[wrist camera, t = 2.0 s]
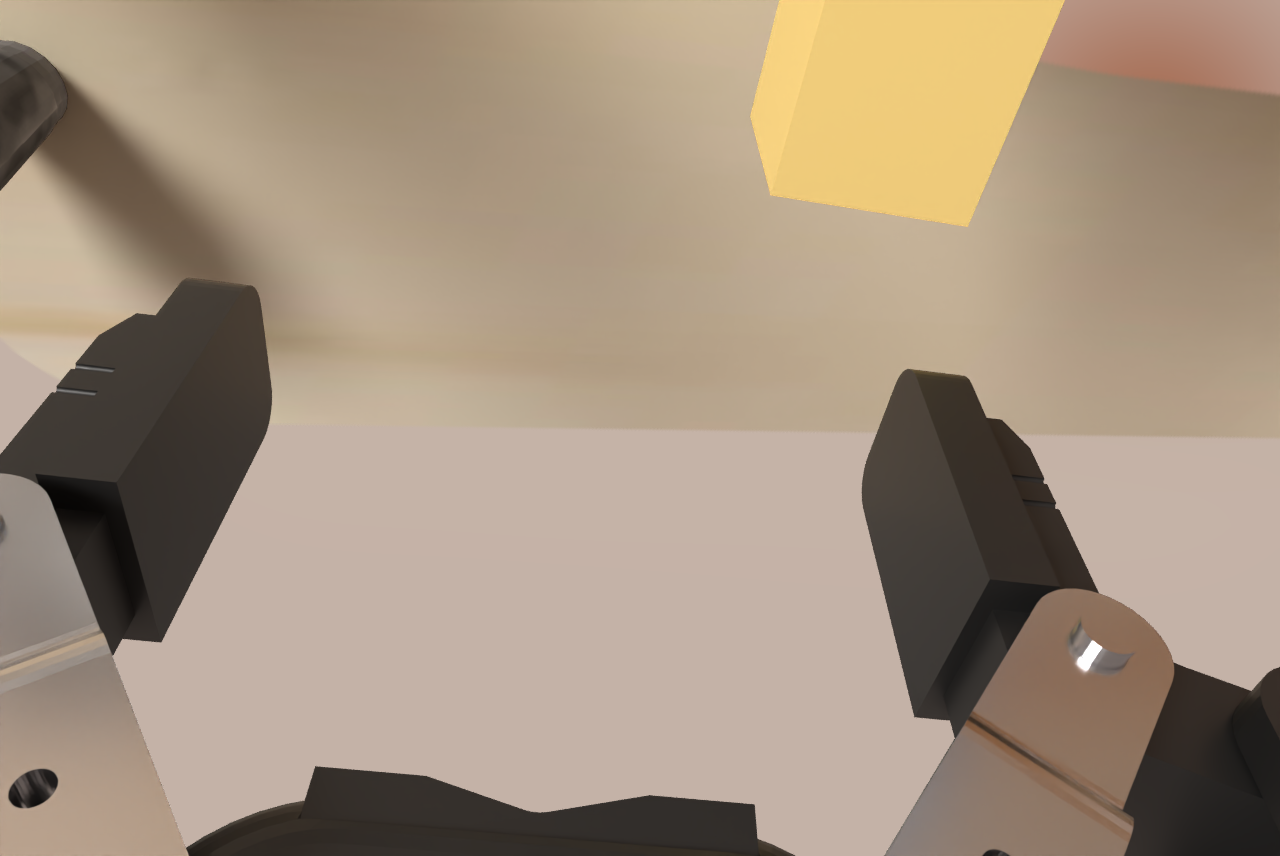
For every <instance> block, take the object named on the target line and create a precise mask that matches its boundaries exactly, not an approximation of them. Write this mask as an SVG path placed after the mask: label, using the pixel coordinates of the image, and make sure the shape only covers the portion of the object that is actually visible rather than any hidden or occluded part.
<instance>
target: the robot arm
mask: <svg viewBox="0 0 1280 856" xmlns="http://www.w3.org/2000/svg"><path fill="white" fill-rule="evenodd" d="M271 406H272V388H271V380H270V372H269V364H268V356H267V349H266V341H265V333H264V325H263V318H262V310H261V303H260V298H259V295H258V293H257V291H256V289H255V288H254V287H253V286H250V285H242V284H234V283H226V282H218V281H210V280H202V279H194V278H187V279H185V280H183V281H182V282H181V283H180V284H179V286H178V287H177V288H176V290H175V291H174V292H173V294H172V295H171V296H170V297H169V299H168V300H167V301H166V303H165V304H164V305H163V307H162V308H161V309H160V311H159V312H158V313H157V315H156V316H155V315H147V314H138V313H137V314H135V315H133V316H131V317H130V318H128V319H126V320H124V321H123V322H121V323H119V324H118V325H116V326H114V327H112V328H111V329H109V330H107V331H105V332H104V333H102V334H100V335H99V336H98V337H97V338H96V339H95V340H94V342H93V343H92V344H91V345H90V347H89V348H88V349H87V350H86V351H85V353H84V354H83V355H82V356H81V357H80V359H79V360H78V361H77V362H76V368H75V369H71V370H70V371H69V372H68V373H67V374H66V376H65V377H64V378H63V379H62V380H61V382H60V383H59V384H58V385H57V391H56V393H53V392H52V393H51V394H50V395H49V396H48V397H47V399H46V400H45V401H44V402H43V403H42V405H41V406H40V407H39V408H38V409H37V411H36V412H35V413H34V414H33V416H32V417H31V418H30V419H29V420H28V422H27V423H26V424H25V425H24V426H23V428H22V429H21V430H20V431H19V432H18V434H17V435H16V436H15V437H14V439H13V440H12V441H11V442H10V443H9V445H8V446H7V447H6V449H5V450H4V451H3V452H2V453H1V454H0V856H795V855H793V854H791V853H789V852H786V851H784V850H783V849H781V848H778V847H776V846H774V845H772V844H769V843H767V842H764V841H761V840H759V839H757V829H756V817H755V805H754V804H743V803H731V802H720V801H708V800H696V799H685V798H673V797H662V796H651V795H649V796H643V797H637V798H631V799H624V800H618V801H612V802H606V803H600V804H594V805H588V806H582V807H576V808H570V809H564V810H558V811H551V812H544V813H543V812H542V813H538V812H530V811H526V810H523V809H519V808H517V807H514V806H511V805H508V804H505V803H502V802H500V801H497V800H493V799H491V798H488V797H485V796H482V795H479V794H477V793H474V792H471V791H468V790H465V789H462V788H459V787H456V786H453V785H450V784H448V783H445V782H442V781H439V780H436V779H433V778H430V777H427V776H420V775H409V774H397V773H386V772H373V771H362V770H351V769H339V768H328V767H316V766H315V769H314V773H313V776H312V779H311V782H310V785H309V789H308V792H307V795H306V798H305V801H300V802H295V803H289V804H285V805H281V806H278V807H274V808H270V809H267V810H264V811H260V812H257V813H255V814H252V815H249V816H247V817H244V818H242V819H239V820H237V821H234V822H232V823H229V824H228V825H226V826H224V827H222V828H220V829H218V830H216V831H214V832H212V833H210V834H208V835H206V836H204V837H203V838H201V839H199V840H198V841H196V842H195V843H193V844H192V845H190V846H188V847H187V848H186V847H185V844H184V842H183V839H182V836H181V834H180V831H179V829H178V826H177V823H176V821H175V818H174V816H173V813H172V810H171V808H170V805H169V802H168V800H167V797H166V795H165V792H164V789H163V787H162V784H161V782H160V779H159V776H158V774H157V771H156V769H155V766H154V764H153V761H152V758H151V755H150V753H149V750H148V748H147V745H146V742H145V740H144V737H143V735H142V732H141V729H140V727H139V724H138V722H137V719H136V717H135V714H134V711H133V709H132V706H131V703H130V701H129V698H128V695H127V693H126V690H125V688H124V685H123V683H122V680H121V678H120V675H119V672H118V670H117V668H116V664H115V662H114V659H113V655H114V653H115V651H116V649H117V647H118V645H119V644H120V642H121V640H122V639H130V640H131V639H132V640H141V641H152V642H162V640H163V638H164V636H165V634H166V632H167V630H168V628H169V626H170V624H171V622H172V620H173V618H174V616H175V614H176V612H177V610H178V608H179V606H180V604H181V602H182V600H183V598H184V596H185V594H186V592H187V590H188V588H189V586H190V584H191V582H192V580H193V578H194V576H195V574H196V572H197V570H198V568H199V566H200V564H201V562H202V560H203V558H204V556H205V554H206V552H207V550H208V548H209V546H210V544H211V542H212V540H213V539H214V537H215V535H216V533H217V531H218V529H219V527H220V525H221V523H222V521H223V519H224V517H225V515H226V513H227V511H228V509H229V507H230V505H231V503H232V501H233V499H234V497H235V495H236V493H237V491H238V489H239V487H240V485H241V483H242V481H243V479H244V477H245V475H246V473H247V471H248V469H249V467H250V465H251V463H252V461H253V459H254V457H255V455H256V453H257V451H258V449H259V447H260V445H261V443H262V441H263V439H264V437H265V434H266V432H267V428H268V425H269V420H270V414H271ZM1043 481H1044V477H1043V475H1042V472H1041V471H1040V468H1039V466H1038V464H1037V462H1036V460H1035V458H1034V456H1033V454H1032V452H1031V449H1030V448H1029V447H1028V446H1027V445H1026V444H1025V443H1024V442H1023V441H1022V440H1021V439H1020V438H1019V437H1018V436H1017V435H1016V434H1015V433H1014V432H1013V431H1012V430H1011V429H1010V428H1009V427H1008V426H1007V425H1006V424H1005V423H1004V422H1003V421H1002V420H1000V419H992V418H986V416H985V413H984V411H983V409H982V407H981V404H980V402H979V400H978V397H977V395H976V393H975V391H974V388H973V386H972V384H971V382H970V380H969V379H968V378H967V377H965V376H961V375H953V374H945V373H937V372H929V371H921V370H913V369H907V370H905V371H904V372H903V373H902V374H901V375H900V377H899V378H898V380H897V382H896V385H895V387H894V390H893V393H892V395H891V398H890V400H889V403H888V406H887V408H886V411H885V413H884V416H883V419H882V421H881V424H880V427H879V429H878V432H877V434H876V437H875V440H874V442H873V445H872V447H871V450H870V453H869V455H868V458H867V461H866V464H865V468H864V474H863V481H862V503H863V509H864V513H865V517H866V521H867V525H868V529H869V534H870V537H871V542H872V546H873V550H874V554H875V558H876V562H877V566H878V570H879V574H880V578H881V583H882V587H883V591H884V595H885V599H886V603H887V607H888V611H889V615H890V619H891V623H892V627H893V631H894V636H895V640H896V643H897V648H898V652H899V656H900V660H901V664H902V668H903V672H904V676H905V680H906V684H907V689H908V693H909V696H910V701H911V705H912V709H913V713H914V717H919V718H929V719H939V720H950V722H951V725H952V730H953V733H954V737H955V739H954V741H953V743H952V744H951V746H950V747H949V749H948V751H947V752H946V754H945V756H944V757H943V759H942V761H941V763H940V764H939V766H938V767H937V769H936V771H935V772H934V774H933V776H932V777H931V779H930V781H929V782H928V784H927V786H926V788H925V789H924V791H923V792H922V794H921V796H920V797H919V799H918V801H917V802H916V804H915V806H914V807H913V809H912V811H911V812H910V814H909V816H908V817H907V819H906V821H905V822H904V824H903V826H902V827H901V829H900V831H899V832H898V834H897V835H896V837H895V839H894V840H893V842H892V844H891V846H890V847H889V849H888V850H887V852H886V854H885V855H884V856H1280V667H1279V668H1276V669H1273V670H1272V671H1270V672H1269V673H1268V674H1267V675H1266V676H1265V677H1264V678H1263V679H1262V680H1261V681H1260V682H1259V683H1258V684H1257V685H1256V687H1255V688H1254V689H1253V690H1252V691H1249V690H1247V689H1244V688H1241V687H1239V686H1236V685H1233V684H1230V683H1227V682H1225V681H1222V680H1219V679H1216V678H1214V677H1211V676H1208V675H1205V674H1202V673H1200V672H1197V671H1194V670H1191V669H1188V668H1186V667H1183V666H1181V665H1178V664H1176V663H1173V660H1172V656H1171V653H1170V651H1169V649H1168V647H1167V645H1166V644H1165V642H1164V641H1163V639H1162V638H1161V636H1160V635H1159V634H1158V633H1157V631H1156V630H1155V629H1154V628H1153V627H1152V626H1151V625H1150V624H1149V623H1148V622H1147V621H1146V620H1145V619H1144V618H1142V617H1141V616H1140V615H1138V614H1137V613H1136V612H1135V611H1133V610H1132V609H1130V608H1128V607H1127V606H1125V605H1124V604H1122V603H1120V602H1118V601H1116V600H1114V599H1112V598H1110V597H1107V596H1105V595H1102V594H1099V592H1098V590H1097V588H1096V586H1095V584H1094V582H1093V580H1092V578H1091V576H1090V574H1089V571H1088V569H1087V567H1086V565H1085V563H1084V561H1083V559H1082V557H1081V554H1080V553H1079V550H1078V548H1077V546H1076V544H1075V542H1074V540H1073V538H1072V536H1071V533H1070V531H1069V529H1068V527H1067V525H1066V523H1065V521H1064V519H1063V517H1062V514H1061V512H1060V510H1058V509H1055V504H1056V502H1055V500H1054V498H1053V496H1052V494H1051V491H1050V490H1049V487H1048V485H1047V484H1044V483H1043Z"/></svg>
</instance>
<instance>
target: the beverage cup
mask: <svg viewBox="0 0 1280 856" xmlns="http://www.w3.org/2000/svg"><path fill="white" fill-rule="evenodd" d="M66 108H67V92H66V89H65V85H64V82H63V80H62V79H61V77H60V75H59V74H58V72H57V70H56V69H55V68H54V67H53V66H52V65H51V64H50V63H49V61H48V60H47V59H46V58H45V57H44V56H42V55H41V54H39V53H38V52H36V51H35V50H33V49H32V48H30V47H28V46H25V45H22V44H20V43H17V42H13V41H2V40H0V191H1V190H2V188H3V187H4V186H5V185H6V184H7V183H8V181H9V180H10V179H11V178H12V177H13V176H14V175H15V173H16V172H17V171H18V170H19V169H20V168H21V166H22V165H23V164H24V163H25V162H26V161H27V160H28V158H29V157H30V156H31V155H32V154H33V153H34V151H35V150H36V149H37V148H38V147H39V146H40V145H41V143H42V142H43V141H44V140H45V139H46V138H47V136H48V135H49V134H50V133H51V132H52V130H53V128H54V126H55V125H56V123H57V121H58V120H59V119H61V118H62V116H63V114H64V112H65V110H66Z"/></svg>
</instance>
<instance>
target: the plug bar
mask: <svg viewBox="0 0 1280 856" xmlns="http://www.w3.org/2000/svg"><path fill="white" fill-rule="evenodd" d="M1064 1H1065V0H779V4H778V8H777V12H776V16H775V20H774V24H773V28H772V32H771V36H770V40H769V44H768V48H767V52H766V56H765V60H764V64H763V68H762V72H761V76H760V79H759V83H758V87H757V91H756V95H755V99H754V103H753V107H752V111H751V115H750V117H751V121H752V125H753V129H754V133H755V137H756V141H757V144H758V148H759V152H760V156H761V160H762V164H763V168H764V172H765V176H766V180H767V183H768V187H769V191H770V195H772V196H778V197H785V198H791V199H797V200H803V201H809V202H816V203H822V204H828V205H834V206H841V207H847V208H853V209H859V210H866V211H872V212H878V213H884V214H891V215H897V216H903V217H909V218H916V219H922V220H928V221H934V222H941V223H947V224H953V225H959V226H966V227H968V225H969V222H970V220H971V218H972V215H973V213H974V211H975V208H976V206H977V204H978V201H979V199H980V197H981V194H982V192H983V190H984V188H985V185H986V183H987V181H988V178H989V176H990V174H991V171H992V169H993V167H994V164H995V162H996V160H997V157H998V155H999V153H1000V150H1001V148H1002V146H1003V143H1004V141H1005V139H1006V136H1007V134H1008V132H1009V129H1010V127H1011V125H1012V122H1013V120H1014V118H1015V115H1016V113H1017V111H1018V108H1019V106H1020V104H1021V101H1022V99H1023V97H1024V95H1025V92H1026V90H1027V88H1028V85H1029V83H1030V81H1031V78H1032V76H1033V74H1034V71H1035V69H1036V67H1037V64H1038V62H1039V60H1040V57H1041V55H1042V53H1043V50H1044V48H1045V46H1046V43H1047V41H1048V39H1049V36H1050V34H1051V32H1052V29H1053V27H1054V25H1055V22H1056V20H1057V18H1058V15H1059V13H1060V11H1061V8H1062V6H1063V4H1064Z"/></svg>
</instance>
